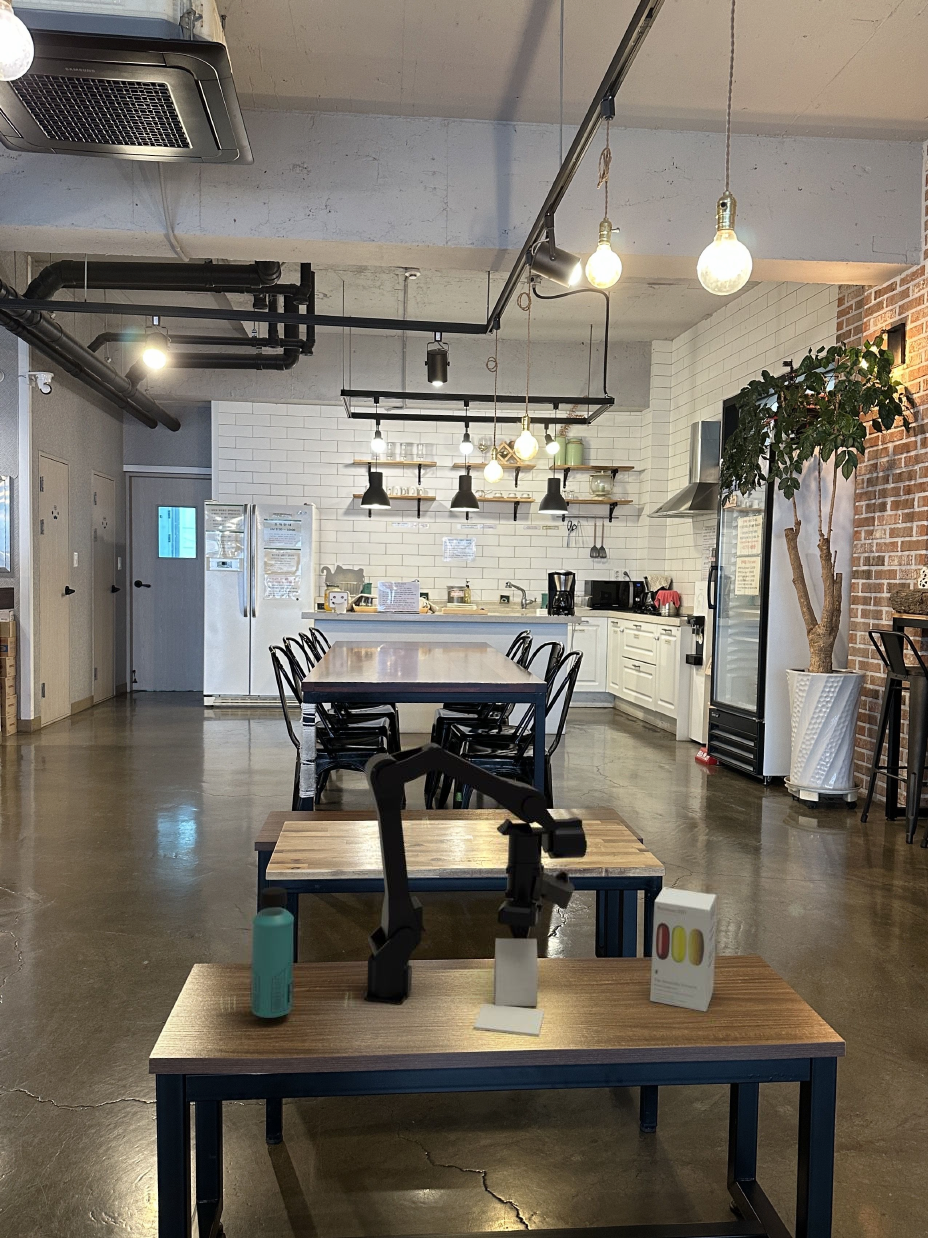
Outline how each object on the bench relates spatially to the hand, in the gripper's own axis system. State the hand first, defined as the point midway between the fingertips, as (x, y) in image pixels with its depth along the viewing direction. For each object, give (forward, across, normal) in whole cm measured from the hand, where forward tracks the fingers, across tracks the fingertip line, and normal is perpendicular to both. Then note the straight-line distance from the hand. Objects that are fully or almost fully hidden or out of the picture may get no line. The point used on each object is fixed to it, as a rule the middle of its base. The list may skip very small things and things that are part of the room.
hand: (521, 950), depth 156 cm
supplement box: (+6, +2, -27) cm, 28 cm away
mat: (+6, -14, 0) cm, 15 cm away
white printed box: (+6, -8, 0) cm, 10 cm away
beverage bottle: (+6, -22, +36) cm, 43 cm away
